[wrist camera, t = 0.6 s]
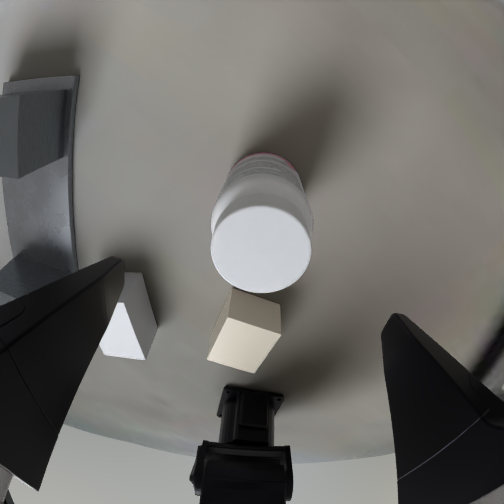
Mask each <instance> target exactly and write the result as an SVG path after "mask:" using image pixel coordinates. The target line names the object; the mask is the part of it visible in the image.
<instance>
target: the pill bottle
mask: <svg viewBox="0 0 504 504" xmlns="http://www.w3.org/2000/svg"><path fill="white" fill-rule="evenodd" d="M211 229H212V235H213V236H212V241H211V255H212V259H213V262H214V265H215V267H216V269H217V270H218V272H219V273H220V274H221V276H222V277H223V278H224V279H225V280H226V281H228V282H229V283H230V284H232V285H234V286H235V287H237V288H240V289H242V290H245V291H249V292H254V293H269V292H275V291H279V290H281V289H284V288H286V287H288V286H290V285H291V284H293V283H294V282H296V281H297V280H298V279H299V278H300V277H301V276H302V274H303V273H304V272H305V270H306V268H307V266H308V264H309V262H310V258H311V252H312V245H311V237H312V233H313V215H312V211H311V208H310V205H309V203H308V200H307V197H306V195H305V192H304V190H303V187H302V184H301V181H300V178H299V175H298V173H297V171H296V170H295V168H294V167H293V166H292V165H291V164H290V163H289V162H288V161H287V160H286V159H284V158H282V157H281V156H278V155H276V154H272V153H255V154H251V155H248V156H246V157H244V158H242V159H241V160H240V161H238V162H237V163H236V164H235V165H234V166H233V168H232V169H231V171H230V173H229V175H228V177H227V179H226V182H225V184H224V186H223V188H222V191H221V193H220V195H219V197H218V199H217V201H216V203H215V206H214V208H213V213H212V218H211Z"/></svg>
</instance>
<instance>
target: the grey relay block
mask: <svg viewBox="0 0 504 504" xmlns="http://www.w3.org/2000/svg"><path fill="white" fill-rule="evenodd" d="M157 329H158V327H157V324H156V321H155V318H154V314H153V311H152V308H151V304H150V301H149V297H148V294H147V290H146V287H145V283H144V279H143V275H142V273H135V272H125V283H124V287H123V290H122V292H121V295H120V297H119V300H118V302H117V305H116V308H115V310H114V313H113V315H112V318H111V321H110V323H109V325H108V327H107V330H106V332H105V334H104V335H103V337H102V339H101V341H100V343H99V345H100V347H101V349H102V351H103V353H104V355H110V356H117V357H124V358H132V359H141V360H146V357H147V355H148V352H149V350H150V347H151V344H152V342H153V339H154V337H155V334H156V332H157Z"/></svg>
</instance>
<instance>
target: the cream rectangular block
mask: <svg viewBox="0 0 504 504" xmlns="http://www.w3.org/2000/svg"><path fill="white" fill-rule="evenodd" d="M280 336H281V312H280V304H277V303H274V302H271V301H268V300H265V299H262V298H259V297H257V296H254V295H251V294H248V293H245V292H242V291H240V290H237V289H234V288H232V290H231V292H230V294H229V297H228V299H227V301H226V303H225V305H224V307H223V309H222V312H221V314H220V316H219V318H218V320H217V322H216V324H215V327H214V329H213V331H212V336H211V341H210V346H209V351H208V356H207V360H210V361H213V362H216V363H220V364H223V365H226V366H230V367H233V368H236V369H240V370H243V371H247V372H250V373H255V372H256V370H257V369H258V367H259V366H260V365H261V363H262V362H263V360H264V359H265V358H266V356H267V355H268V353H269V352H270V350H271V349H272V348H273V346H274V345H275V343H276V342H277V340H278V339H279V337H280Z"/></svg>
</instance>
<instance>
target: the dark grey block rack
mask: <svg viewBox="0 0 504 504" xmlns="http://www.w3.org/2000/svg"><path fill="white" fill-rule="evenodd" d="M79 76H80V75H72V76H56V77H44V78H35V79H26V80H19V81H12V82H5V83H4V85H3V95H0V177H2V183H3V194H4V203H5V211H6V218H7V225H8V231H9V237H10V242H11V247H12V252H13V257H14V258H13V259H12V260H11V261H10V262H9V263H8V264H7V265H6V266H4V267H3V268H2V269H1V270H0V306H1V305H3V304H6V303H8V302H10V301H12V300H14V299H17V298H19V297H21V296H23V295H25V294H27V295H28V293H29V292H32V291H34V290H36V289H38V288H40V287H42V286H45V285H47V284H49V283H51V282H54V281H56V280H58V279H60V278H63V277H65V276H67V275H69V274H72V273H74V272H76V271H78V264H77V256H76V246H75V234H74V220H73V197H72V156H73V134H74V120H75V109H76V99H77V91H78V83H79Z"/></svg>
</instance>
